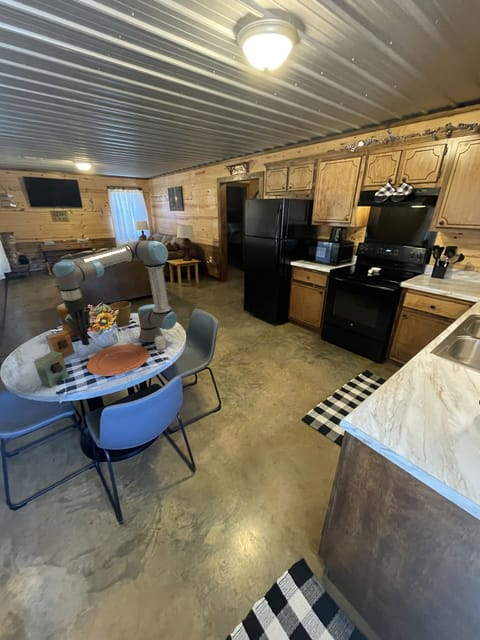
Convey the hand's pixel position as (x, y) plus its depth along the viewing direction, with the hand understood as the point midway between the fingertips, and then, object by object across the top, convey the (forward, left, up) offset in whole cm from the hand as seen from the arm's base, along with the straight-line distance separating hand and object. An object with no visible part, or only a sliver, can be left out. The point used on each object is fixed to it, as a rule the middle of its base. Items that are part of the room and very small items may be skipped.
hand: (86, 344), depth 125 cm
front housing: (+1, -22, -22) cm, 31 cm away
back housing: (-23, -37, -22) cm, 48 cm away
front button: (+2, -18, -16) cm, 24 cm away
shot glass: (-39, +18, -22) cm, 48 cm away
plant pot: (-70, -25, -22) cm, 77 cm away
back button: (-21, -33, -16) cm, 43 cm away
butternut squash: (-46, -46, -22) cm, 68 cm away
